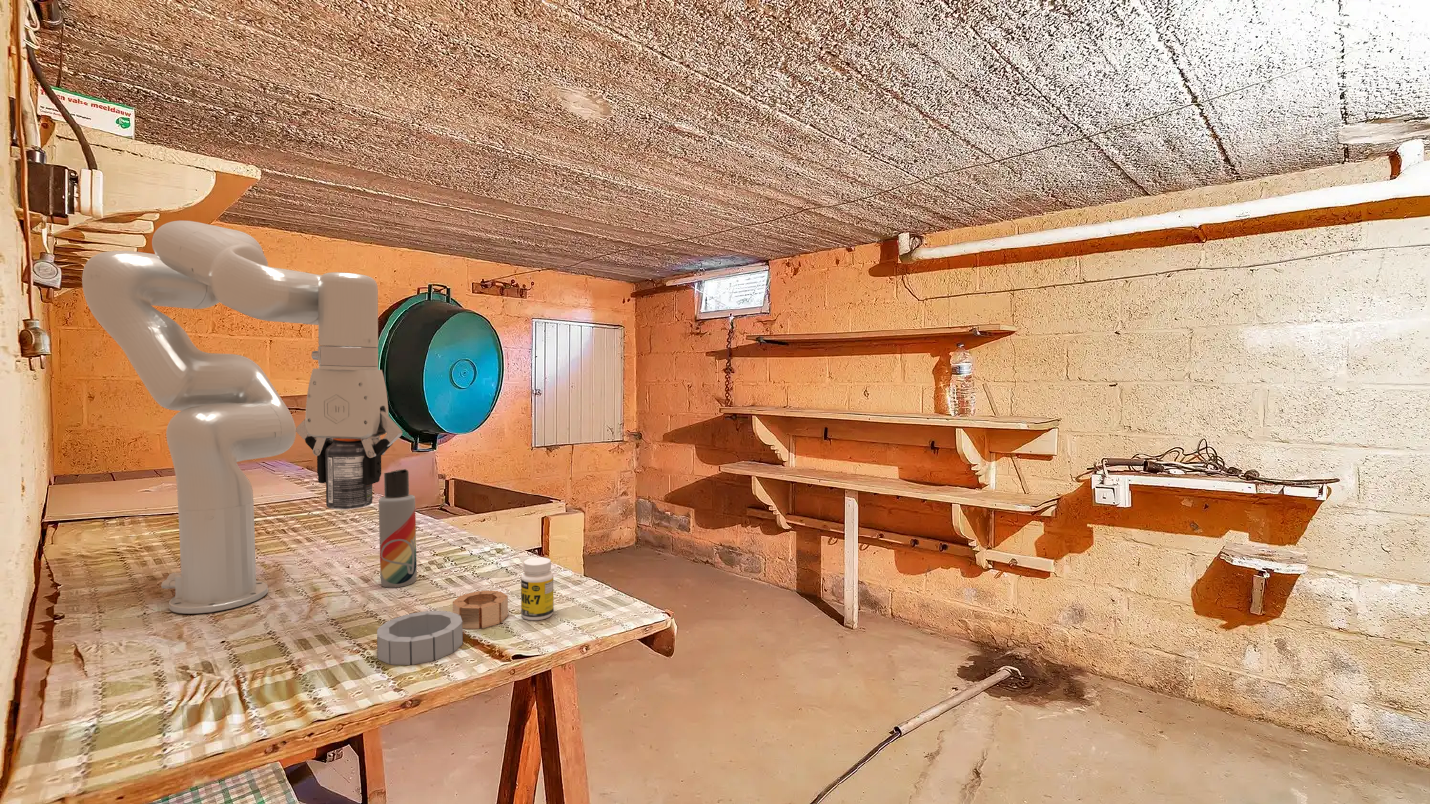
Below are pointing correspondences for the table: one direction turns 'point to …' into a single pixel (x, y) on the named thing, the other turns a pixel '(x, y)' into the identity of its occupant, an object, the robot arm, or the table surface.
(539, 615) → the supplement bottle
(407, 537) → the lotion bottle
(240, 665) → the table surface
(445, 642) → the grey segmented ring
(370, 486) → the pill bottle
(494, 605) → the wooden ring
